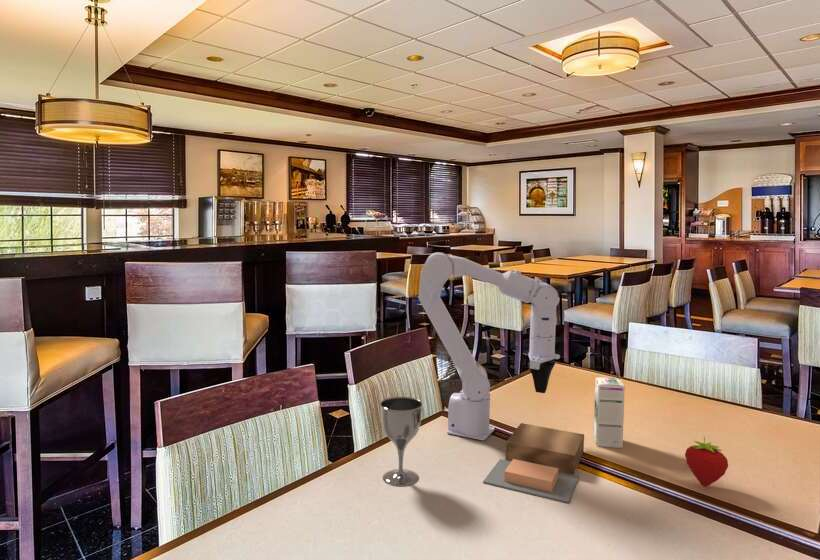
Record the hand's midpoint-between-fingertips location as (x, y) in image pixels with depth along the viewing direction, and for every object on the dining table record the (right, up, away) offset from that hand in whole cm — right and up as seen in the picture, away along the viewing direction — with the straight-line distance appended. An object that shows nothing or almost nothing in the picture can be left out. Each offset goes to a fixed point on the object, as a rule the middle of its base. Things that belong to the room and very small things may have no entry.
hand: (540, 391), depth 124 cm
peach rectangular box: (-7, -10, -22) cm, 25 cm away
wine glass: (-32, -13, -21) cm, 40 cm away
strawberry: (+26, -13, -23) cm, 37 cm away
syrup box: (+15, -11, -3) cm, 18 cm away
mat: (-7, -13, -21) cm, 26 cm away
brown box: (-2, -12, -10) cm, 16 cm away
